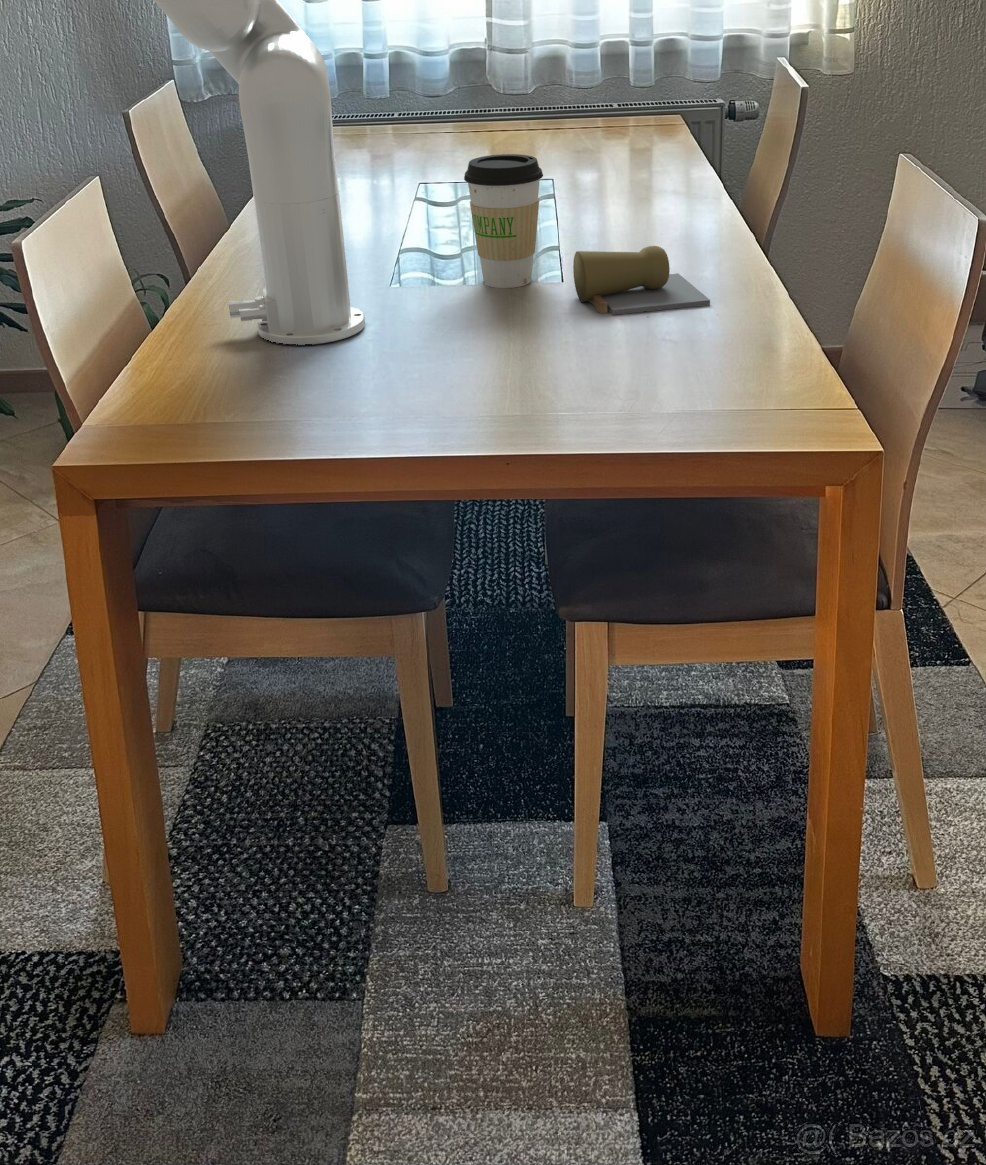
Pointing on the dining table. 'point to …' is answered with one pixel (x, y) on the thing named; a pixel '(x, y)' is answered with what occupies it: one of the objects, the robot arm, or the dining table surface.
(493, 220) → the coffee cup
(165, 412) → the dining table surface
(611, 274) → the cork
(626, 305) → the charcoal mat
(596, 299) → the walnut strip
